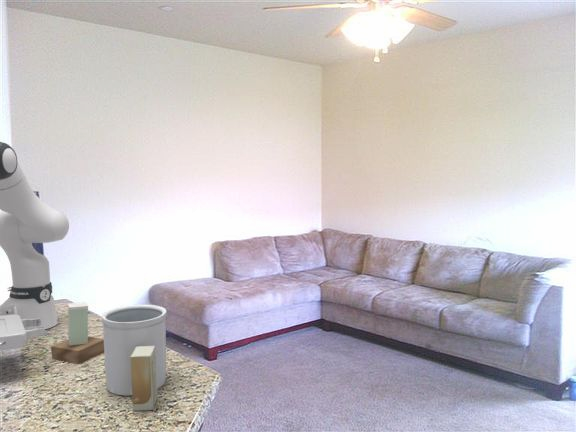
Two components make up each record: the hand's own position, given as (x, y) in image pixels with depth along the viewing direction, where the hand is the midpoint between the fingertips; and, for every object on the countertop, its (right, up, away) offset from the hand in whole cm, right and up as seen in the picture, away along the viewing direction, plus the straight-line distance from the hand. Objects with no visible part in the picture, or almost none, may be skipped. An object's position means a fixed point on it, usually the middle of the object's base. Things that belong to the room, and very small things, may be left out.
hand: (42, 326), depth 135 cm
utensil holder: (+30, -11, -14) cm, 34 cm away
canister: (+7, -6, +5) cm, 11 cm away
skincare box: (+35, -12, -25) cm, 44 cm away
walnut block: (+8, -10, +6) cm, 14 cm away
